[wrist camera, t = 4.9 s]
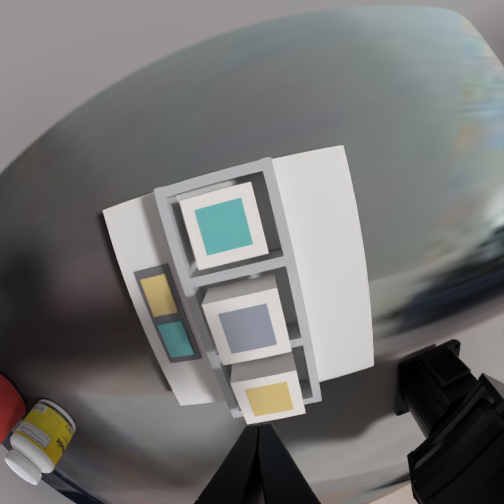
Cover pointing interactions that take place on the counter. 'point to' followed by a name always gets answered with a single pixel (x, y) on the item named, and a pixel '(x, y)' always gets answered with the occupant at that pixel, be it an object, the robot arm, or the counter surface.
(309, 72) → the counter surface
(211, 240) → the key
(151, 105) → the counter surface
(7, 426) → the beer can
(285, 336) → the key mid
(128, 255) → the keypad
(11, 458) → the supplement bottle
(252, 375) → the key
